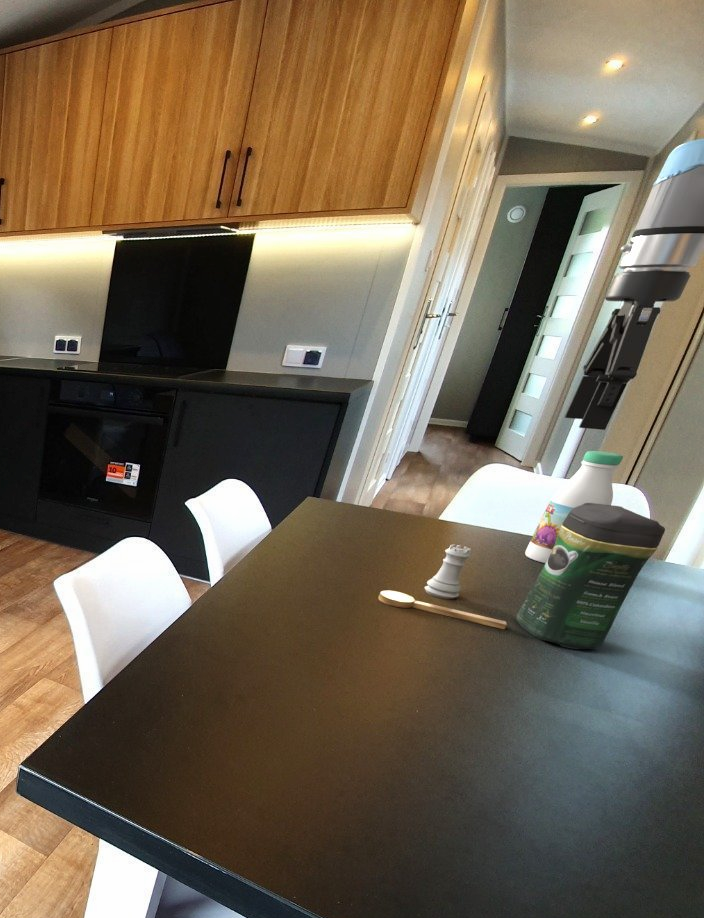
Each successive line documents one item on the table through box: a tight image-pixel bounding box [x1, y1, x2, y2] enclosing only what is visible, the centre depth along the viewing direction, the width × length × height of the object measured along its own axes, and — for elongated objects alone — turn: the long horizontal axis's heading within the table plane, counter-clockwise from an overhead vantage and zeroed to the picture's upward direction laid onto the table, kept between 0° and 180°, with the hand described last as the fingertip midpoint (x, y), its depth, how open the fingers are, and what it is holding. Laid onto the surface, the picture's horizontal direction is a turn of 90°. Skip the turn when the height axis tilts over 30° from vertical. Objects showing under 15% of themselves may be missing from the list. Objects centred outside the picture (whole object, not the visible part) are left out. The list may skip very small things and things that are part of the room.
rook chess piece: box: [424, 544, 472, 600], centre depth 100 cm, size 4×4×8 cm
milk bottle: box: [525, 450, 624, 564], centre depth 113 cm, size 8×8×20 cm
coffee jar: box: [515, 503, 666, 650], centre depth 85 cm, size 10×8×19 cm
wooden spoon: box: [378, 590, 508, 630], centre depth 95 cm, size 15×4×1 cm, turn 51°
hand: (583, 423), depth 99 cm, fingers open, 13 cm apart
